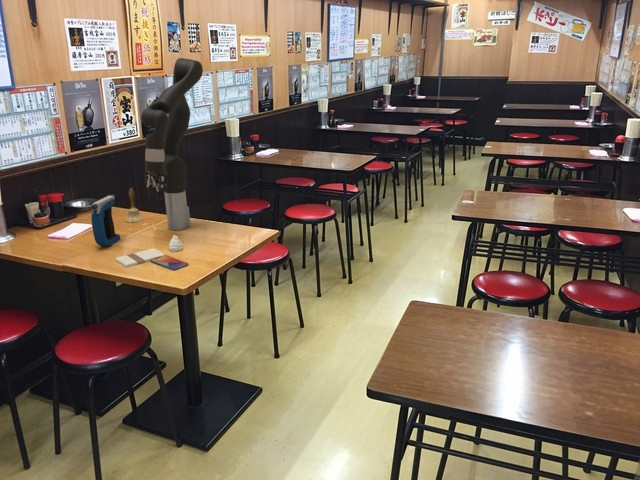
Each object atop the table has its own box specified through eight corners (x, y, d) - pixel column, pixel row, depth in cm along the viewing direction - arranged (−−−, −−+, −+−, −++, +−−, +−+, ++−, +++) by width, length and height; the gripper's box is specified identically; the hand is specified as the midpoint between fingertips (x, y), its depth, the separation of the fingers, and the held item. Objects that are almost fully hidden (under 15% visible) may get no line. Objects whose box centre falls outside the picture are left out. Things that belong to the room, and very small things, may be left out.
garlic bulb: (184, 234, 210) (176, 238, 206) (185, 248, 212) (177, 252, 208) (173, 233, 212) (164, 237, 208) (174, 246, 214) (166, 251, 210)
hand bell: (140, 216, 255) (137, 185, 250) (145, 221, 249) (141, 188, 243) (123, 219, 251) (119, 187, 246) (127, 224, 244) (123, 191, 239)
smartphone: (174, 272, 190) (173, 269, 189) (149, 262, 198) (149, 260, 198) (190, 266, 195) (189, 263, 195) (165, 257, 204) (165, 254, 204)
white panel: (154, 250, 210) (153, 248, 210) (165, 257, 203) (165, 254, 203) (115, 260, 200) (114, 257, 199) (126, 267, 193) (125, 265, 192)
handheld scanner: (124, 237, 226) (117, 193, 219) (106, 250, 210) (98, 203, 204) (114, 237, 226) (106, 193, 220) (95, 250, 211) (87, 203, 204)
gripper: (171, 161, 210) (171, 201, 214) (155, 157, 220) (155, 194, 224) (154, 162, 205) (154, 202, 209) (138, 157, 215) (139, 195, 219)
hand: (155, 198), depth 217 cm, fingers open, 8 cm apart
